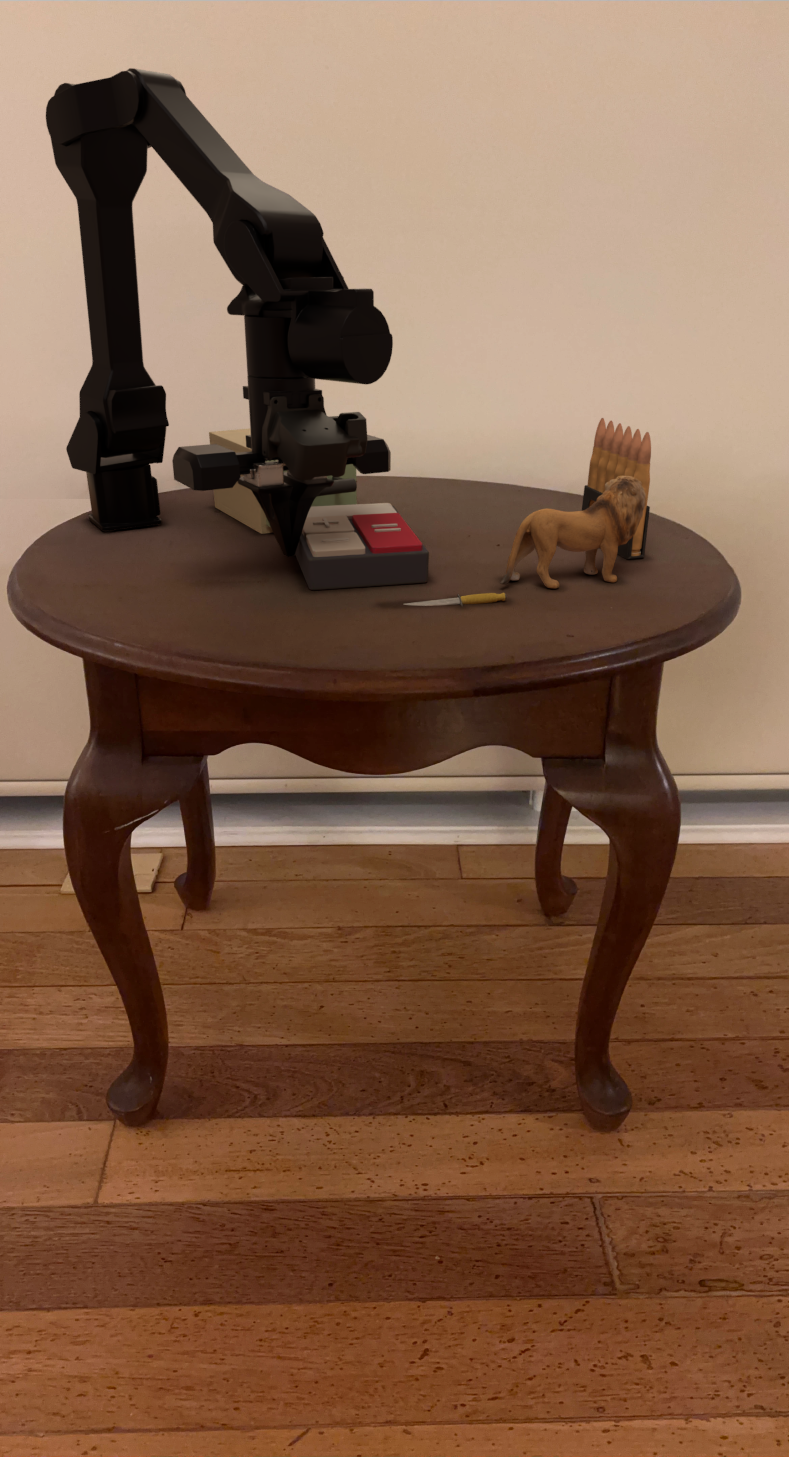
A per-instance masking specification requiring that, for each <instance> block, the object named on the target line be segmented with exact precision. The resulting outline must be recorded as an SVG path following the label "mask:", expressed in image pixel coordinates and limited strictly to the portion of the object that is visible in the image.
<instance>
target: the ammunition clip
mask: <svg viewBox="0 0 789 1457" xmlns="http://www.w3.org/2000/svg"><path fill="white" fill-rule="evenodd" d="M651 457H652V441H651V436H650V433H649V431H646V432H645V434H644V435H643V437H642V434H641V431H640V429H639V428H637V429H635V431H634V433H632V427H631V426H630V425H628V426H626V428H625V429H623V426H622V423H618V424H617V426H616V428H615V425H614V422H613V420H609V422H608V423H607V425H606V422H605V418H604V417H601V418H600V420H599V422H598V424H597V427H596V431H595V435H594V440H593V446H592V453H591V457H590V460H589V468H588V475H587V484H586V485H584V486H583V494H582V502H581V503H582V504H581V511H584V510H585V509H587V508H589V507H590V506H592V504H593V503H594V502H596V500H597V498H598V497H599V496H601V495H602V494H603V493H604V492H605V484H606V483H607V482H610V480H612V479H616V478H617V477H618V476H632V477H634V478H636V479H638V480H639V481H640V482H641V483H642V487H643V488H644V490H645V496H646V505H645V507H644V510H643V516H642V518H641V520H640V522H639V525H638V527H637V530H636V533H635V535H633V537H632V538H631V539H630V540H629V541H628V542H627V543H626V544H623V545H620V546H618V552H617V556H620V557H622V558H623V559H626V560H636V559H644V558H645V552H646V544H647V538H648V536H647V535H648V528H649V518H650V510H651V506H649V505H648V499H649V491H650V486H651V485H650V484H651Z"/></svg>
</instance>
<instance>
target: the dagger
mask: <svg viewBox="0 0 789 1457" xmlns="http://www.w3.org/2000/svg"><path fill="white" fill-rule="evenodd" d="M456 596H457V597H449V598H441V599H433V600H423V601H415V602H407V603H404V605H406V606H420V607H422V606H423V607H425V606H426V607H430V606H433V607H434V606H456V605H457V606H459V605H460V607H461V608H463V607H464V606H463V605H475V604H476V605H479V604H480V605H481V604H482V605H483V604H491V603H492V604H493V603H497V602H499V601H502V602H505V601H506V600H507V597H508V596H507V593H505V592H502V593H496V592H485V593H474V594H467V595H462V596H461V595H460V594H459V593H457V594H456Z"/></svg>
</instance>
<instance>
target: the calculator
mask: <svg viewBox="0 0 789 1457" xmlns="http://www.w3.org/2000/svg"><path fill="white" fill-rule="evenodd" d="M294 556H295V558H296V560H297V563H298V565H299V568H300V570H301V573H302V575H303V577H304V580H305V583H306V584H307V587H308V589H309V590H310V591H324V590H338V589H339V590H340V589H341V590H342V589H354V588H368V587H369V588H370V587H382V586H385V587H386V586H399V585H412V584H413V585H414V584H426V583H428V581H429V565H430V564H429V563H430V562H429V561H430V560H429V559H430V552H429V550H428V549H427V547H426V546H425V545H424V543H423V542H422V541H421V539H420V538H419V537H418V536H417V534H416V533H415V532H414V531H413V529H412V528H411V527H410V525H409V524H408V523H407V521H406V520H405V519H404V518H403V516H402V515H401V514H400V512H399V511H398V509H396V507H395V506H394V505H393V504H391V503H390V502H379V503H357V504H355V505H334V506H314V507H311V508H310V510H309V512H308V515H307V518H306V521H305V524H304V527H303V530H302V533H301V536H300V540H299V543H298V546H297V549H296V552H295V555H294Z"/></svg>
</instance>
